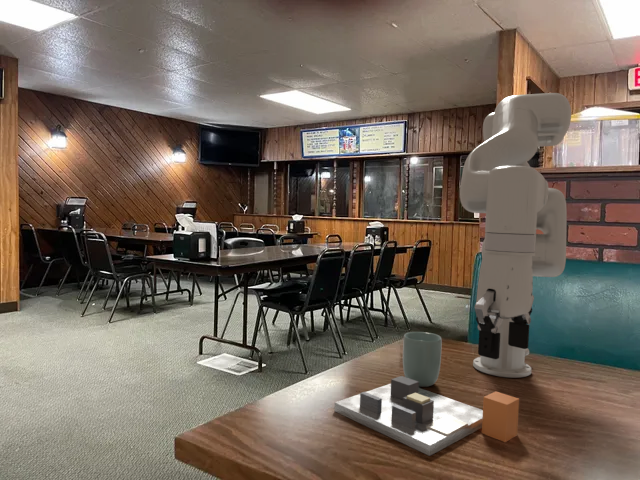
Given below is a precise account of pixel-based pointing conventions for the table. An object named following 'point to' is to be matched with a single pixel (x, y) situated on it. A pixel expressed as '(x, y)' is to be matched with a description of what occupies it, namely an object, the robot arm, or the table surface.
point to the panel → (412, 418)
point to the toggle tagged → (419, 406)
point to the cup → (422, 357)
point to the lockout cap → (500, 416)
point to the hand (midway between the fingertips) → (503, 351)
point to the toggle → (403, 387)
